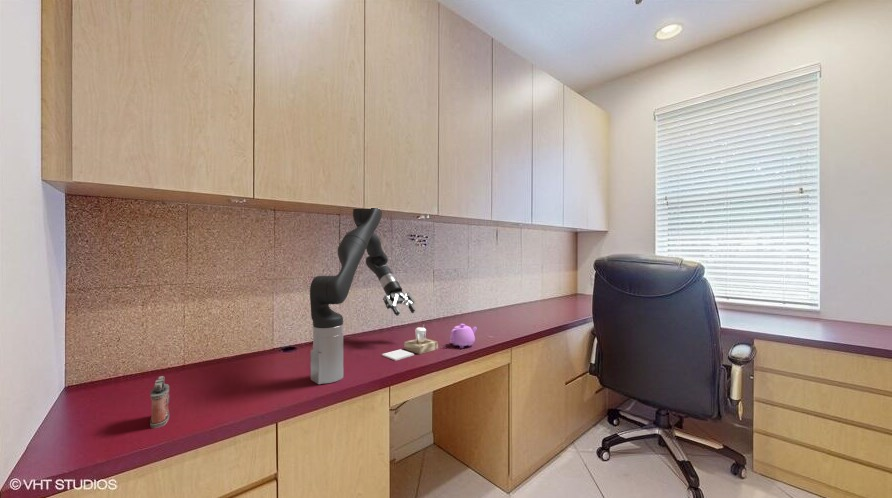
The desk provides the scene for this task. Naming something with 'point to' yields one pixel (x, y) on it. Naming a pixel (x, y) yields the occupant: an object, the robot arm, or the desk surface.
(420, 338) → the milkshake
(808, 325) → the desk surface
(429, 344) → the holder
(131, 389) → the desk surface
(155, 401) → the lighter
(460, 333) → the teapot
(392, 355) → the mat
